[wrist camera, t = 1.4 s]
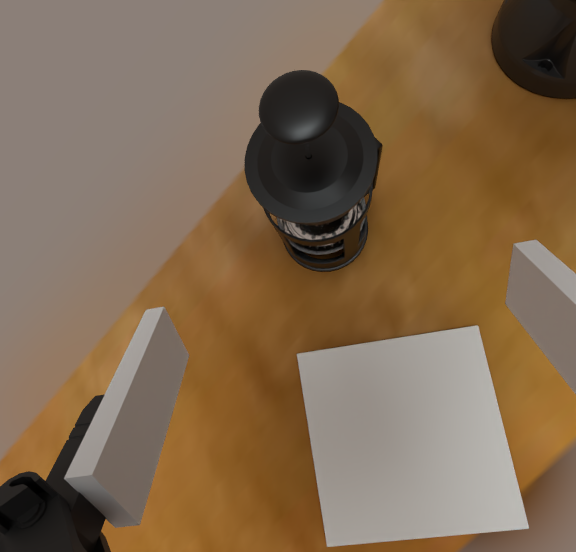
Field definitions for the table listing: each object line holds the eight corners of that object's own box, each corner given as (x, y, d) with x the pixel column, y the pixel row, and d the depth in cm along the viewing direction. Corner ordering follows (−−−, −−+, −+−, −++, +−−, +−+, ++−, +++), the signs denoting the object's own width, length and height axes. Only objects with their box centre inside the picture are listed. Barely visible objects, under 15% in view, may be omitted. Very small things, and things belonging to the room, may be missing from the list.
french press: (315, 293, 41) (275, 236, 18) (261, 231, 43) (165, 112, 20) (398, 222, 40) (460, 76, 18) (339, 163, 43) (331, -32, 20)
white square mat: (474, 325, 38) (478, 325, 37) (524, 523, 34) (529, 528, 33) (298, 353, 40) (296, 353, 39) (327, 541, 36) (327, 546, 35)
